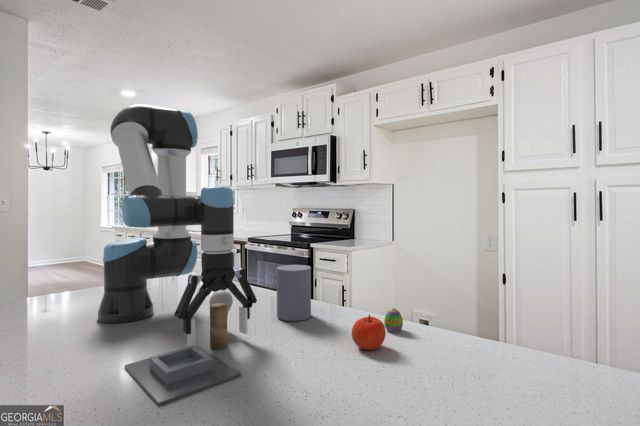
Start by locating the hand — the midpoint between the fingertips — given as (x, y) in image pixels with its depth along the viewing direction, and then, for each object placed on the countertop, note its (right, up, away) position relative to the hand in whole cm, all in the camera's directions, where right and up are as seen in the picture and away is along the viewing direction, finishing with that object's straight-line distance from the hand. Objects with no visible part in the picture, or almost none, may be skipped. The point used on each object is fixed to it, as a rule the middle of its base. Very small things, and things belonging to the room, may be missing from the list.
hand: (218, 339), depth 89 cm
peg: (0, -2, 0) cm, 2 cm away
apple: (+36, -2, -1) cm, 36 cm away
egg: (+44, -2, +11) cm, 46 cm away
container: (+16, -1, +24) cm, 29 cm away
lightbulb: (-2, -2, +12) cm, 12 cm away
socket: (-4, -2, -13) cm, 14 cm away
